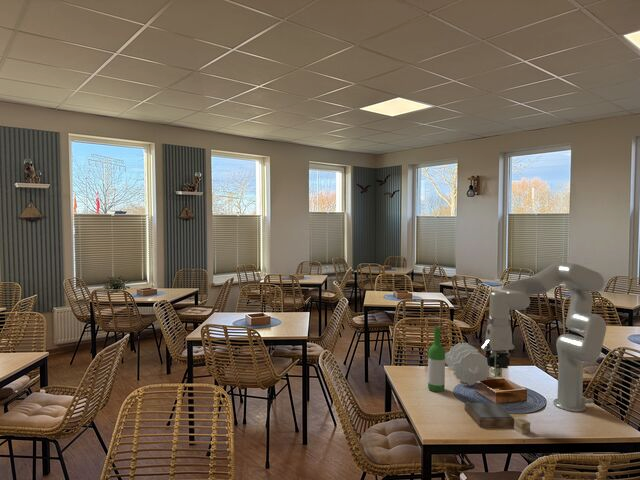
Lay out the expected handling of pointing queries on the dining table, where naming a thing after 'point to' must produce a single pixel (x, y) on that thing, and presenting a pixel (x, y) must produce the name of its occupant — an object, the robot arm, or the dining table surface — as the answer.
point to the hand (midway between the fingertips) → (497, 365)
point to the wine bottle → (436, 364)
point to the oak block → (522, 426)
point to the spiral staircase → (467, 363)
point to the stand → (489, 415)
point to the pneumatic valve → (499, 363)
